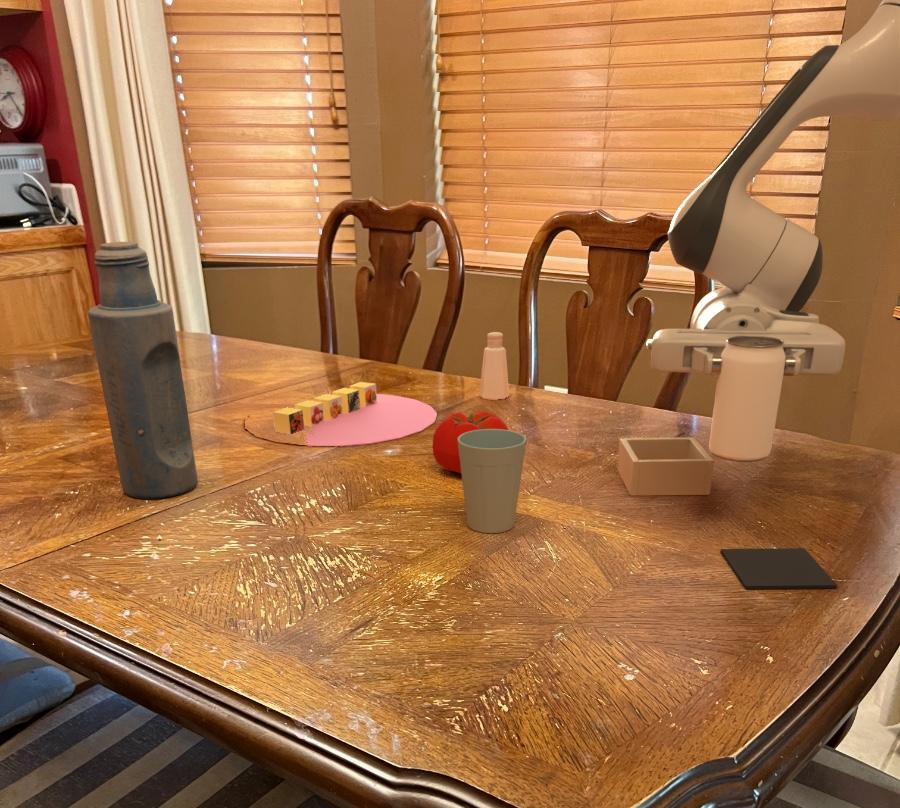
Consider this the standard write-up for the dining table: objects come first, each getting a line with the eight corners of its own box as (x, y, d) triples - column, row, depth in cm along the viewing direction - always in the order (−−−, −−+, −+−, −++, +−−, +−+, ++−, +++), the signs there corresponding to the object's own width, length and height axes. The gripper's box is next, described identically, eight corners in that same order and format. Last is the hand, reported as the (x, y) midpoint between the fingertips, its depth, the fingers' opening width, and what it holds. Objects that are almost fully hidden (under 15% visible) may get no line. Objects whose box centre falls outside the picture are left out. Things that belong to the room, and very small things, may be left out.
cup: (452, 514, 104) (452, 430, 99) (514, 510, 105) (517, 426, 100) (464, 539, 97) (464, 450, 92) (530, 534, 98) (533, 446, 93)
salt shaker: (477, 400, 152) (478, 336, 147) (480, 392, 157) (480, 330, 152) (508, 400, 151) (509, 336, 146) (510, 393, 156) (511, 330, 151)
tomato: (496, 454, 124) (497, 402, 121) (519, 478, 115) (521, 423, 111) (424, 460, 122) (423, 408, 119) (442, 485, 113) (441, 430, 109)
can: (697, 447, 96) (710, 336, 90) (750, 442, 97) (766, 333, 92) (726, 465, 90) (742, 348, 85) (782, 460, 91) (801, 344, 86)
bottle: (162, 471, 119) (122, 237, 106) (214, 482, 115) (179, 240, 101) (106, 492, 112) (55, 244, 98) (159, 505, 108) (113, 248, 94)
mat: (803, 551, 93) (804, 547, 93) (836, 588, 85) (837, 585, 85) (720, 552, 93) (720, 548, 93) (745, 589, 85) (746, 586, 85)
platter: (200, 428, 138) (197, 407, 137) (326, 386, 162) (325, 368, 161) (360, 459, 123) (358, 436, 121) (472, 407, 147) (473, 388, 146)
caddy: (690, 469, 117) (694, 437, 115) (709, 495, 108) (714, 460, 106) (617, 470, 117) (619, 438, 115) (630, 495, 109) (633, 461, 106)
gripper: (647, 312, 101) (653, 334, 89) (831, 314, 98) (863, 337, 86) (643, 366, 104) (647, 395, 92) (821, 370, 101) (850, 400, 88)
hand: (753, 367), depth 88 cm, fingers closed on can, 6 cm apart
